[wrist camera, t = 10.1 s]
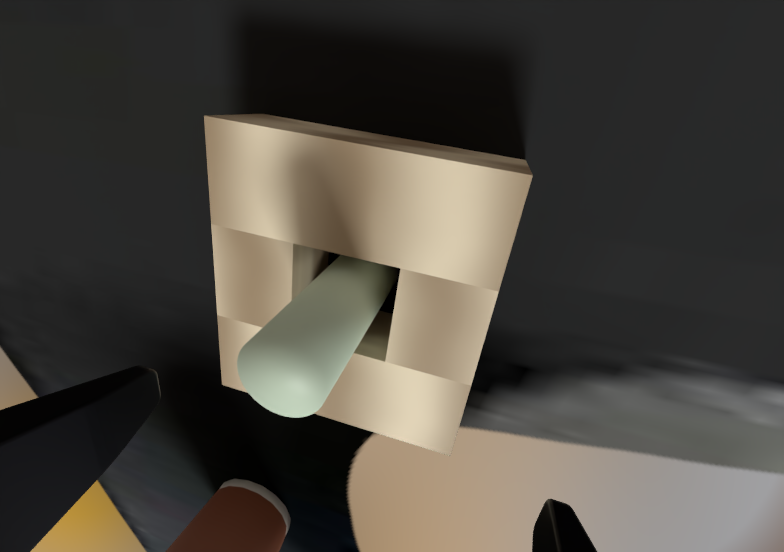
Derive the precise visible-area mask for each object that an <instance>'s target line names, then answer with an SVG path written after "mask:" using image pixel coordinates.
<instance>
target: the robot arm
mask: <svg viewBox="0 0 784 552" xmlns="http://www.w3.org/2000/svg"><path fill="white" fill-rule="evenodd" d="M160 398H161V393H160V387H159V381H158V375H157V372H156V371H155V370H153V369H150V368H147V367H144V366H134V367H131V368H128V369H125V370H122V371H119V372H116V373H113V374H110V375H107V376H104V377H101V378H97V379H94V380H91V381H88V382H85V383H82V384H79V385H76V386H73V387H70V388H67V389H64V390H61V391H58V392H54V393H51V394H48V395H45V396H42V397H39V398H36V399H33V400H30V401H27V402H24V403H21V404H18V405H15V406H11V407H8V408H5V409H3V410H0V552H30V551H31V550H32V549H33V548H34V547H35V546H36V545H37V543H39V541H40V540H41V539H42V538H43V537H44V536H45V535H46V534H47V533H48V532H49V531H50V530H51V529H52V528H53V526H54V525H55V524H56V523H57V522H58V521H59V520H60V519H61V518H62V517H63V516H64V515H65V514H66V513H67V511H68V510H69V509H70V508H71V507H72V506H73V505H74V504H75V503H76V502H77V501H78V500H79V499H80V497H81V496H82V495H83V494H84V493H85V492H86V491H87V490H88V489H89V488H90V487H91V486H92V485H93V484H94V482H95V481H96V480H97V479H98V478H99V477H100V476H101V475H102V474H103V473H104V472H105V470H106V469H107V468H108V467H109V466H110V465H111V464H112V463H113V461H114V460H115V459H116V458H117V456H118V455H119V454H120V453H121V451H122V450H123V449H124V448H125V446H126V445H127V444H128V443H129V441H130V440H131V439H132V437H133V436H134V435H135V434H136V432H137V431H138V430H139V429H140V427H141V426H142V425H143V423H144V422H145V421H146V420H147V418H148V417H149V416H150V415H151V413H152V412H153V411H154V410H155V408H156V407H157V405H158V404H159V401H160ZM532 552H597V551H596V549H595V547H594V545H593V544H592V542H591V540H590V538H589V537H588V535H587V533H586V532H585V530H584V528H583V526H582V524H581V523H580V521H579V519H578V518H577V516H576V514H575V512H574V511H573V509H572V508H571V507H570V506H569V505H567V504H565V503H562V502H559V501H556V500H553V499H548V500H547V501H546V502H545V504H544V506H543V508H542V510H541V512H540V514H539V517H538V519H537V521H536V523H535V526H534V531H533V546H532Z"/></svg>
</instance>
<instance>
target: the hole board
mask: <svg viewBox="0 0 784 552" xmlns="http://www.w3.org/2000/svg"><path fill="white" fill-rule="evenodd" d="M204 122H205V137H206V152H207V167H208V182H209V197H210V212H211V227H212V241H213V256H214V271H215V286H216V301H217V316H218V331H219V346H220V361H221V376H222V385H224V386H228V387H231V388H234V389H237V390H240V391H244V392H247V390H246V389H245V387H244V386H243V384H242V382H241V380H240V377H239V374H238V370H237V359H238V355H239V352H240V350H241V349H242V347H243V346H244V345H245V344H246V343H247V342H248V341H249V340H250V339H251V338H252V337H253V336H254V335H255V334H256V333H258V332H259V331H260V330H261V329H262V328H263V327H264V326H265V325H266V324H267V323H268V322H269V321H270V320H272V319H273V318H274V317H275V316H276V315H277V314H278V313H279V312H280V311H281V310H282V309H283V308H284V307H285V306H287V305H288V304H289V303H290V302H291V301H292V300H293V299H294V298H295V297H296V296H297V295H298V294H299V293H300V292H302V291H303V290H304V289H305V288H306V287H307V286H308V285H309V284H310V283H311V282H312V281H313V280H314V279H315V278H317V277H318V276H319V275H320V274H321V273H322V272H323V271H324V270H325V269H326V268H327V267H328V259H329V252H332V253H337V254H341V255H345V256H349V257H354V258H358V259H362V260H366V261H371V262H375V263H379V264H384V265H388V266H392V267H396V268H400V275H399V281H398V287H397V293H396V299H395V305H394V311H393V314H391V313H387V312H383V311H378V313H377V314H376V316H375V318H374V319H373V321H372V323H371V324H370V326H369V328H368V329H367V331H366V333H365V334H364V336H363V338H362V340H361V341H360V343H359V345H358V346H357V348H356V350H355V351H354V353H353V355H352V356H351V358H350V360H349V361H348V363H347V365H346V366H345V368H344V370H343V372H342V373H341V375H340V377H339V378H338V380H337V382H336V383H335V385H334V387H333V388H332V390H331V392H330V393H329V395H328V397H327V398H326V400H325V402H324V403H323V405H322V407H321V408H320V409H319V410H318V411H316V412H315V413H314V414H317V415H321V416H324V417H327V418H330V419H333V420H337V421H340V422H343V423H346V424H349V425H353V426H356V427H359V428H362V429H365V430H369V431H372V432H375V433H378V434H382V435H385V436H388V437H391V438H394V439H398V440H401V441H404V442H407V443H410V444H413V445H417V446H420V447H423V448H426V449H430V450H433V451H436V452H439V453H442V454H446V455H449V456H450V455H451V452H452V449H453V445H454V442H455V439H456V435H457V432H458V428H459V425H460V422H461V418H462V415H463V411H464V408H465V405H466V401H467V398H468V394H469V391H470V388H471V384H472V381H473V377H474V374H475V370H476V367H477V364H478V360H479V357H480V353H481V350H482V347H483V343H484V340H485V336H486V333H487V330H488V326H489V323H490V319H491V316H492V313H493V309H494V306H495V302H496V299H497V295H498V292H499V289H500V285H501V282H502V278H503V275H504V272H505V268H506V265H507V261H508V258H509V255H510V251H511V248H512V244H513V241H514V238H515V234H516V231H517V227H518V224H519V220H520V217H521V214H522V210H523V207H524V203H525V200H526V197H527V193H528V190H529V186H530V183H531V180H532V176H533V175H532V173H531V171H530V169H529V166H528V164H527V162H526V160H523V159H517V158H511V157H505V156H500V155H494V154H488V153H483V152H477V151H471V150H466V149H460V148H454V147H449V146H443V145H437V144H431V143H426V142H420V141H414V140H409V139H403V138H397V137H392V136H386V135H380V134H375V133H369V132H363V131H358V130H352V129H346V128H340V127H335V126H329V125H323V124H318V123H312V122H306V121H301V120H295V119H289V118H284V117H278V116H272V115H266V114H242V115H211V116H204ZM247 393H248V392H247Z"/></svg>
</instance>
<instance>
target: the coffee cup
mask: <svg viewBox="0 0 784 552" xmlns="http://www.w3.org/2000/svg"><path fill="white" fill-rule="evenodd" d="M290 519H291V518H290V516H289V513H288V511H287V508H286V506H285V505H284V504H283V503H282V502H281V500H280V499H279V498H278V497H277V496H276V495H275V494H273V493H272V492H271V491H269V490H268V489H266V488H265V487H263V486H262V485H259V484H257V483H254V482H251V481H249V480H242V479H232V480H229V481H226V482H224V483H223V484H222V486H221V487H220V488H219V490H218V491H217V492H216V493H215V494H214V495H213V497H212V498H211V499H210V500H209V501H208V502H207V504H206V505H205V506H204V507H203V508H202V510H201V511H200V512H199V513H198V514H197V515H196V517H195V518H194V519H193V520H192V521H191V522H190V524H189V525H188V526H187V527H186V528H185V529H184V531H183V532H182V533H181V534H180V535H179V536H178V538H177V539H176V540H175V541H174V542H173V544H172V545H171V546H170V547H169V548H168V549H167V551H166V552H279V550H280V548H281V545H282V543H283V541H284V538H285V536H286V534H287V532H288V530H289V527H290Z"/></svg>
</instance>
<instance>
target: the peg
mask: <svg viewBox="0 0 784 552" xmlns="http://www.w3.org/2000/svg"><path fill="white" fill-rule="evenodd" d="M397 277H398V268H396V267H392V266H388V265H384V264H379V263H375V262H371V261H366V260H362V259H358V258H354V257H349V256H345V255H340V256H339V257H338V258H337V259H336V260H335V261H334V262H333V263H332V264H330V265H329V266H328V267H327V268H326V269H325V270H324V271H323V272H322V273H321V274H320V275H319V276H318V277H317V278H315V279H314V280H313V281H312V282H311V283H310V284H309V285H308V286H307V287H306V288H305V289H304V290H303V291H302V292H300V293H299V294H298V295H297V296H296V297H295V298H294V299H293V300H292V301H291V302H290V303H289V304H288V305H287V306H285V307H284V308H283V309H282V310H281V311H280V312H279V313H278V314H277V315H276V316H275V317H274V318H273V319H272V320H270V321H269V322H268V323H267V324H266V325H265V326H264V327H263V328H262V329H261V330H260V331H259V332H258V333H256V334H255V335H254V336H253V337H252V338H251V339H250V340H249V341H248V342H247V343H246V344H245V345H244V346H243V347H242V349H241V350H240V352H239V355H238V359H237V370H238V374H239V377H240V380H241V382H242V384H243V386H244V387H245V389H246V390H247V392H248V393H249V394H250V395H251V396H252V398H253V399H254V400H256V401H257V402H258V403H259V404H260V405H262V406H263V407H265V408H266V409H268V410H270V411H272V412H274V413H276V414H279V415H282V416H286V417H295V418H298V417H305V416H309V415H311V414H313V413H315V412H316V411H318V410H319V409H320V408H321V407H322V405H323V403H324V402H325V400H326V398H327V397H328V395H329V393H330V392H331V390H332V388H333V387H334V385H335V383H336V382H337V380H338V378H339V377H340V375H341V373H342V372H343V370H344V368H345V366H346V365H347V363H348V361H349V360H350V358H351V356H352V355H353V353H354V351H355V350H356V348H357V346H358V345H359V343H360V341H361V340H362V338H363V336H364V334H365V333H366V331H367V329H368V328H369V326H370V324H371V323H372V321H373V319H374V318H375V316H376V314H377V313H378V311H379V309H380V308H381V306H382V304H383V303H384V301H385V299H386V297H387V296H388V294H389V292H390V291H391V289H392V287H393V286H394V284H395V282H396V280H397Z"/></svg>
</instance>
